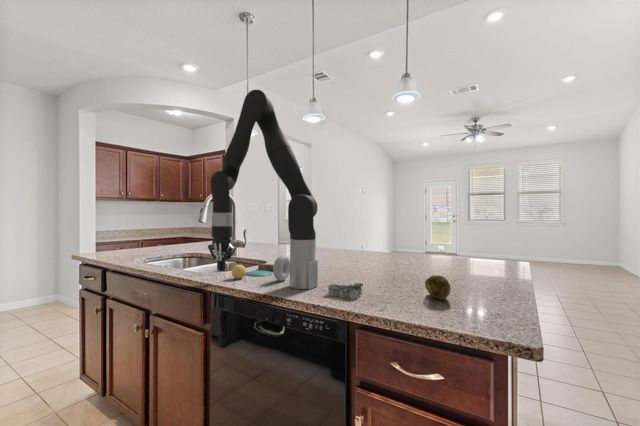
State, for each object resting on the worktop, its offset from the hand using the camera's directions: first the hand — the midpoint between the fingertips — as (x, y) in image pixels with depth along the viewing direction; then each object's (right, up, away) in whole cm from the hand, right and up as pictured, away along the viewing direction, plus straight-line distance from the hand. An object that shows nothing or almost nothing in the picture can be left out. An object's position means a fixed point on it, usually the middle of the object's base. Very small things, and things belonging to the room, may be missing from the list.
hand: (221, 270), depth 116 cm
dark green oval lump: (+74, -6, -20) cm, 77 cm away
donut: (+22, -5, +5) cm, 24 cm away
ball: (+5, -2, +8) cm, 9 cm away
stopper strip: (+15, -5, +26) cm, 30 cm away
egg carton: (+46, -6, -16) cm, 48 cm away
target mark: (+11, -5, +18) cm, 21 cm away
